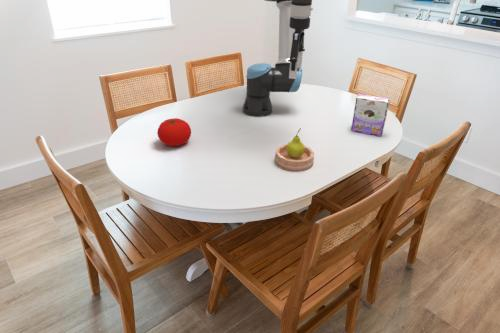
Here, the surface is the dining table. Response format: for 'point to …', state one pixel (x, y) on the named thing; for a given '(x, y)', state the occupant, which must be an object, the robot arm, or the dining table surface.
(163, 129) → the tomato
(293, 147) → the fruit
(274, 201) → the dining table surface
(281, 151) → the dish
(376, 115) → the candy box
